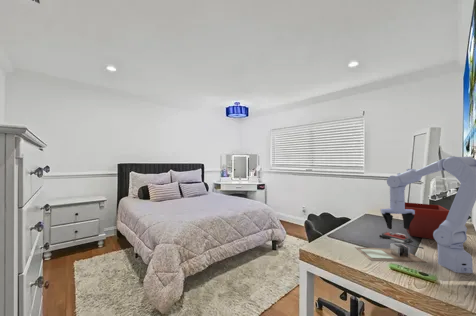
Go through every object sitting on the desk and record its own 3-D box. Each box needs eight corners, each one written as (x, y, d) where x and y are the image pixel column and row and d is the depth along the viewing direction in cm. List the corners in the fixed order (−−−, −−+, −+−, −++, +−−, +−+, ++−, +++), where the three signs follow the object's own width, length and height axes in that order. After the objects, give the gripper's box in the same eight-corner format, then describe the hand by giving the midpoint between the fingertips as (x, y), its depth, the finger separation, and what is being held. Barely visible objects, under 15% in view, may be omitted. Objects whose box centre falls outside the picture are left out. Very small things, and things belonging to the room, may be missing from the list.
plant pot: (439, 233, 126) (439, 204, 126) (451, 243, 109) (450, 210, 110) (399, 228, 135) (399, 201, 136) (404, 237, 119) (404, 206, 119)
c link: (410, 257, 91) (410, 247, 91) (397, 257, 91) (397, 247, 91) (401, 252, 96) (401, 243, 96) (390, 252, 96) (390, 243, 96)
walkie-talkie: (377, 239, 117) (422, 252, 100) (376, 231, 117) (422, 242, 100) (385, 236, 122) (430, 248, 104) (385, 228, 122) (429, 239, 105)
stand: (427, 265, 86) (427, 255, 86) (371, 263, 88) (371, 253, 88) (403, 250, 100) (402, 242, 100) (354, 249, 102) (354, 241, 102)
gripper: (407, 199, 107) (407, 226, 106) (376, 198, 108) (377, 225, 108) (417, 201, 100) (418, 231, 99) (385, 201, 101) (385, 230, 101)
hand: (397, 228), depth 103 cm, fingers open, 7 cm apart
